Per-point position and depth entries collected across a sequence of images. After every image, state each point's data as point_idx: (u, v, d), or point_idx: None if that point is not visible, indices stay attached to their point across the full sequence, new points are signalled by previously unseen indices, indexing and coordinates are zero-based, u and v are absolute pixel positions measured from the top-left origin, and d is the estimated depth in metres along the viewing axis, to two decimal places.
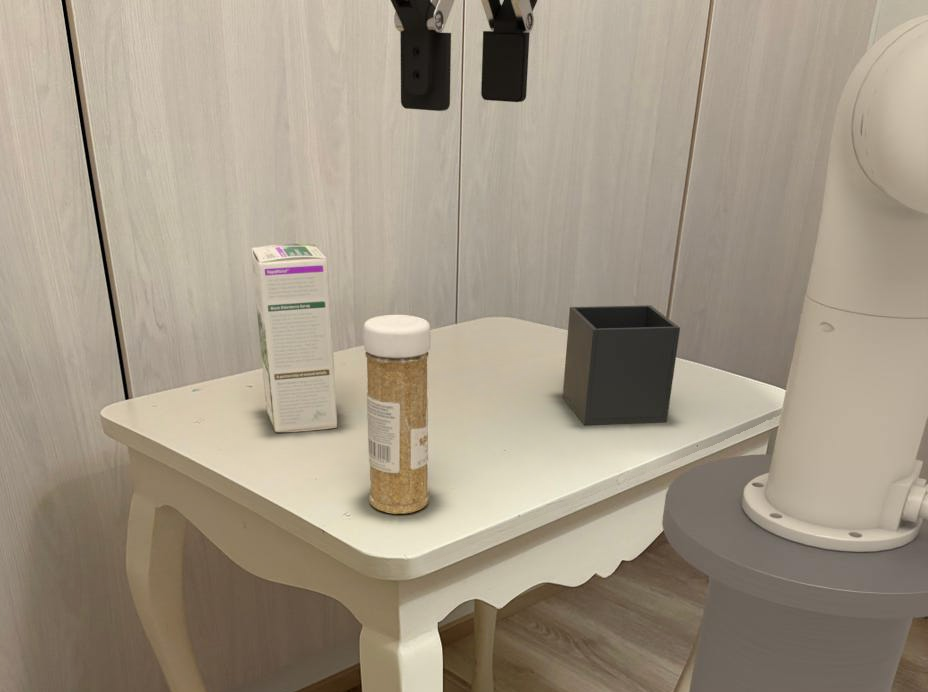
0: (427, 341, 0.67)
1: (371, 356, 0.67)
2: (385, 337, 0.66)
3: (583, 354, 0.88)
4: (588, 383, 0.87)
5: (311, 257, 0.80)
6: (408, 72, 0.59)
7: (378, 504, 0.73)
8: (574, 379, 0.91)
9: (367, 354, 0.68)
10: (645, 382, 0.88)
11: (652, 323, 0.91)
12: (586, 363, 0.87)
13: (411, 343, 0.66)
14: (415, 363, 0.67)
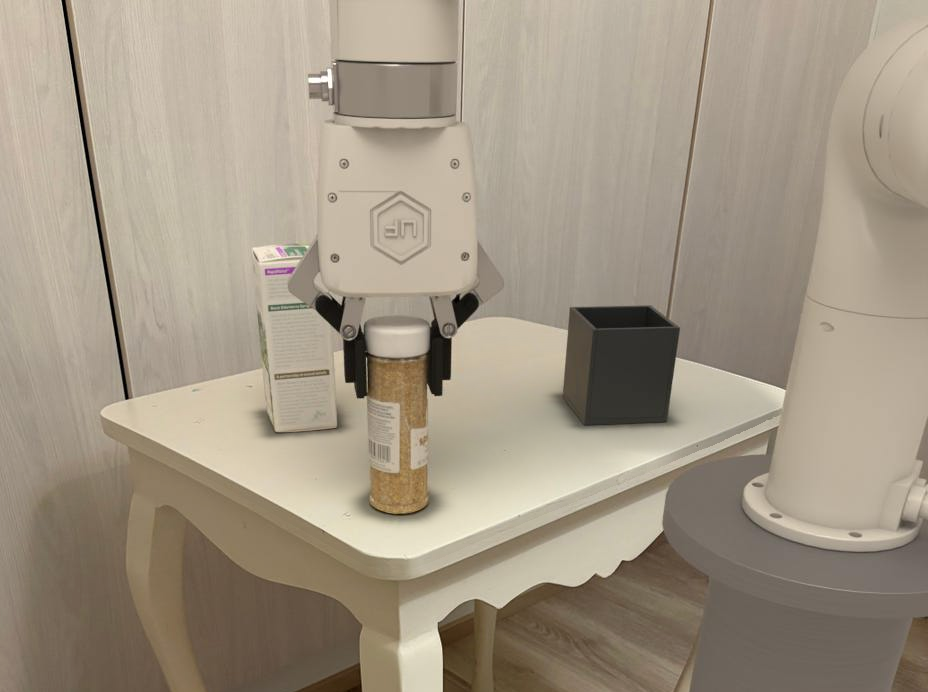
0: (427, 341, 0.67)
1: (371, 356, 0.67)
2: (385, 337, 0.66)
3: (583, 354, 0.88)
4: (588, 383, 0.87)
5: None
6: None
7: (378, 504, 0.73)
8: (574, 379, 0.91)
9: (367, 354, 0.68)
10: (645, 382, 0.88)
11: (652, 323, 0.91)
12: (586, 363, 0.87)
13: (411, 343, 0.66)
14: (415, 363, 0.67)
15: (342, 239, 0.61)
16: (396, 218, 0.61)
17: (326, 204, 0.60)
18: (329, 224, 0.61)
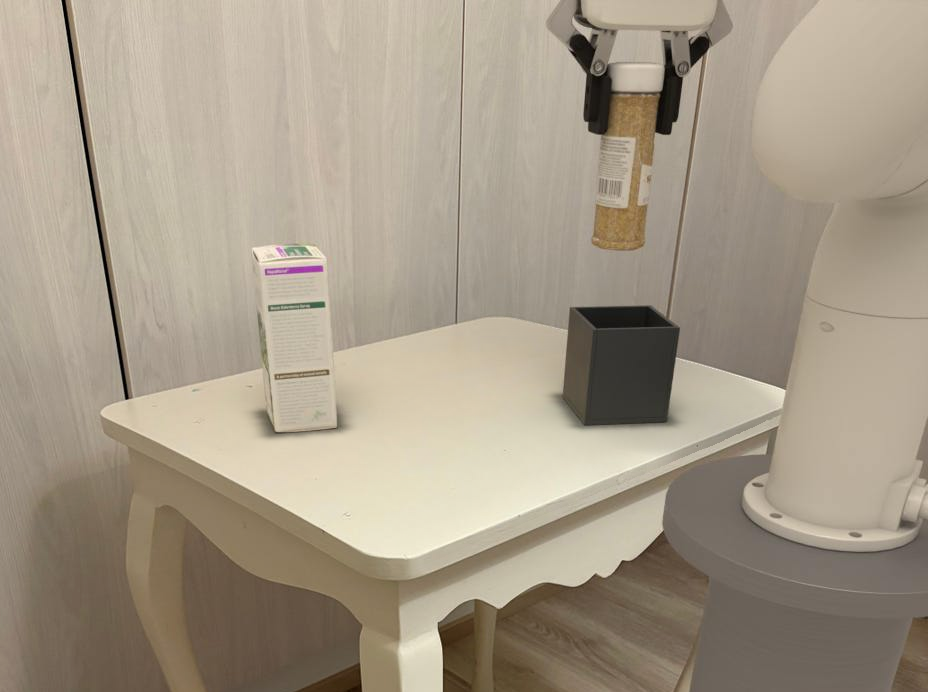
0: (663, 80, 0.77)
1: (613, 94, 0.77)
2: (631, 71, 0.75)
3: (583, 354, 0.88)
4: (588, 383, 0.87)
5: (311, 257, 0.80)
6: (584, 104, 0.78)
7: (603, 242, 0.82)
8: (574, 379, 0.91)
9: None
10: (645, 382, 0.88)
11: (652, 323, 0.91)
12: (586, 363, 0.87)
13: (652, 78, 0.76)
14: (652, 99, 0.77)
15: None
16: None
17: None
18: None
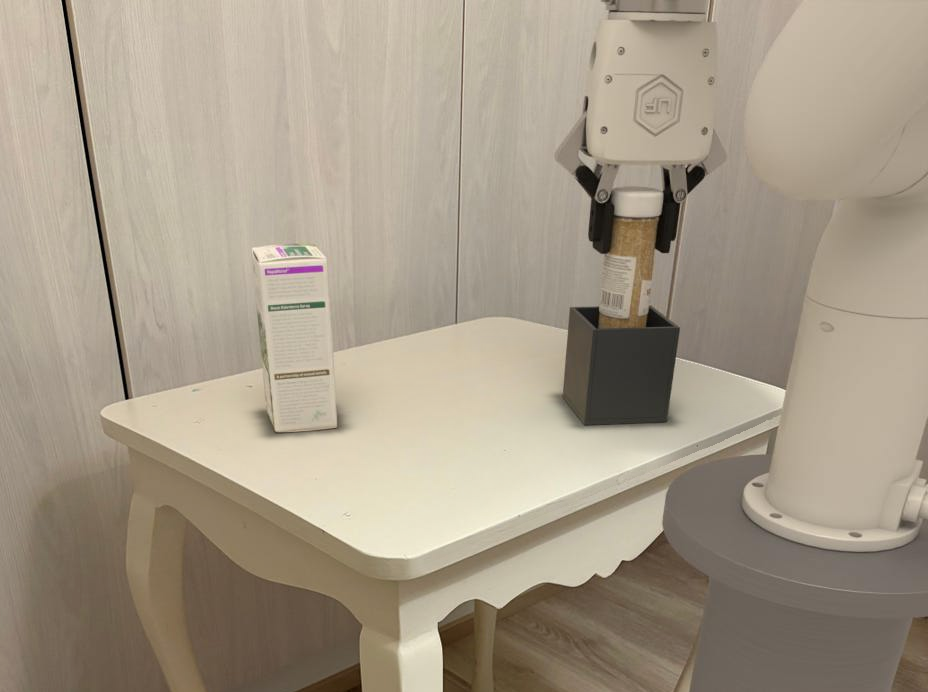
0: (662, 205, 0.83)
1: (615, 217, 0.83)
2: (632, 199, 0.81)
3: (583, 354, 0.88)
4: (588, 383, 0.87)
5: (311, 257, 0.80)
6: (589, 225, 0.85)
7: None
8: (574, 379, 0.91)
9: None
10: (645, 382, 0.88)
11: (652, 323, 0.91)
12: (586, 363, 0.87)
13: (652, 205, 0.82)
14: (651, 223, 0.83)
15: (611, 114, 0.77)
16: (655, 97, 0.77)
17: (603, 85, 0.76)
18: (603, 101, 0.77)
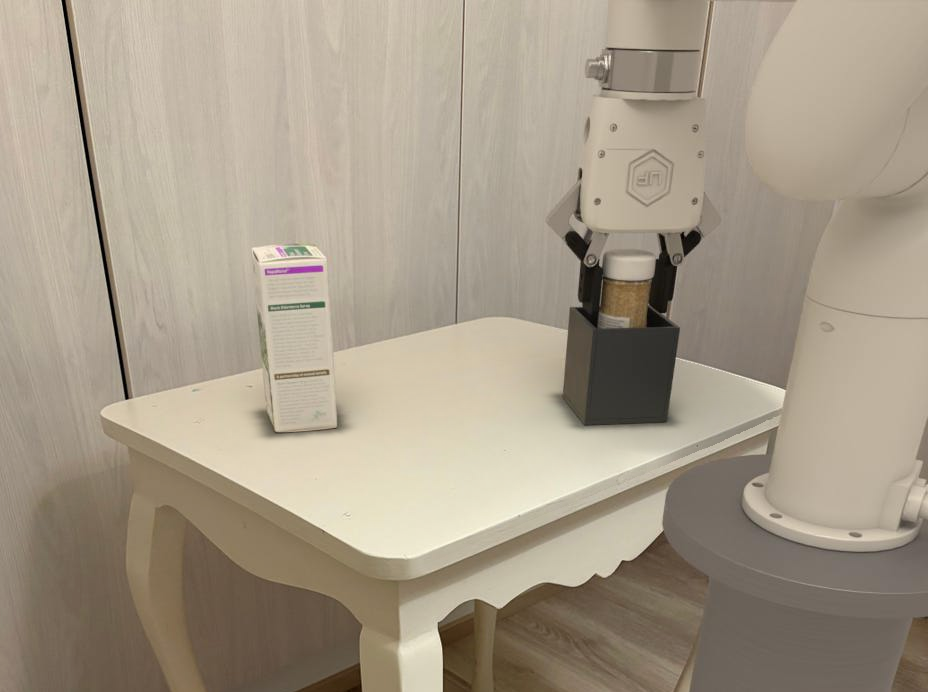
0: (654, 268, 0.86)
1: (609, 280, 0.86)
2: (625, 263, 0.84)
3: (583, 354, 0.88)
4: (588, 383, 0.87)
5: (311, 257, 0.80)
6: None
7: None
8: (574, 379, 0.91)
9: (605, 279, 0.86)
10: (645, 382, 0.88)
11: (652, 323, 0.91)
12: (586, 363, 0.87)
13: (644, 269, 0.85)
14: (644, 285, 0.86)
15: (604, 186, 0.80)
16: (647, 170, 0.80)
17: (596, 159, 0.79)
18: (596, 175, 0.80)
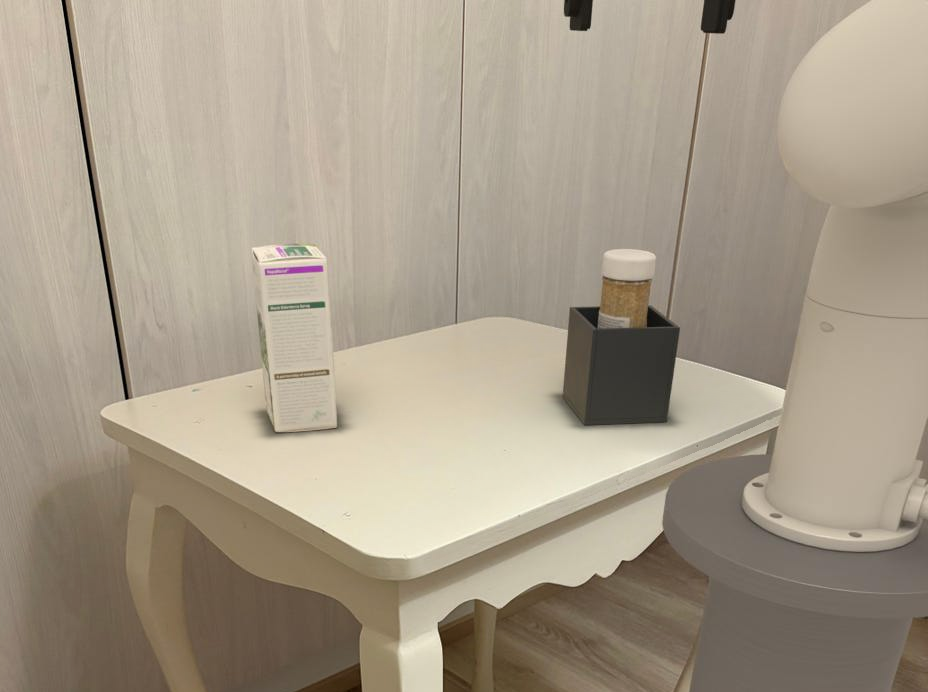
0: (654, 268, 0.86)
1: (609, 280, 0.86)
2: (625, 264, 0.84)
3: (583, 354, 0.88)
4: (588, 383, 0.87)
5: (311, 257, 0.80)
6: None
7: None
8: (574, 379, 0.91)
9: (605, 279, 0.86)
10: (645, 382, 0.88)
11: (652, 323, 0.91)
12: (586, 363, 0.87)
13: (645, 269, 0.85)
14: (644, 285, 0.86)
15: None
16: None
17: None
18: None
